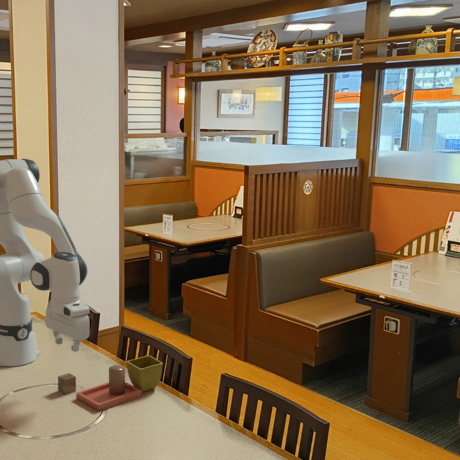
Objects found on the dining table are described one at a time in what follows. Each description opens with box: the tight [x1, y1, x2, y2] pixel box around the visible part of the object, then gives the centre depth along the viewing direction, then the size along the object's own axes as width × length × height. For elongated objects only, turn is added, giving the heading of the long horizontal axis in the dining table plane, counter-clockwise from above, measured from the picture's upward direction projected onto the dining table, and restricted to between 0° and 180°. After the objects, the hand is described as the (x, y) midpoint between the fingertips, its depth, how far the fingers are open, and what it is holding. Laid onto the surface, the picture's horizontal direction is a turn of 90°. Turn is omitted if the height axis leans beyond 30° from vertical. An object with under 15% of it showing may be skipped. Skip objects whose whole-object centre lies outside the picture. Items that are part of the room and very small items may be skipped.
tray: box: [75, 381, 143, 413], centre depth 191 cm, size 12×16×2 cm
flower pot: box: [126, 355, 164, 393], centre depth 199 cm, size 9×9×9 cm
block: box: [57, 372, 77, 396], centre depth 195 cm, size 4×4×5 cm
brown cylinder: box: [108, 364, 126, 396], centre depth 193 cm, size 5×5×8 cm
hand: (67, 347), depth 193 cm, fingers open, 8 cm apart
